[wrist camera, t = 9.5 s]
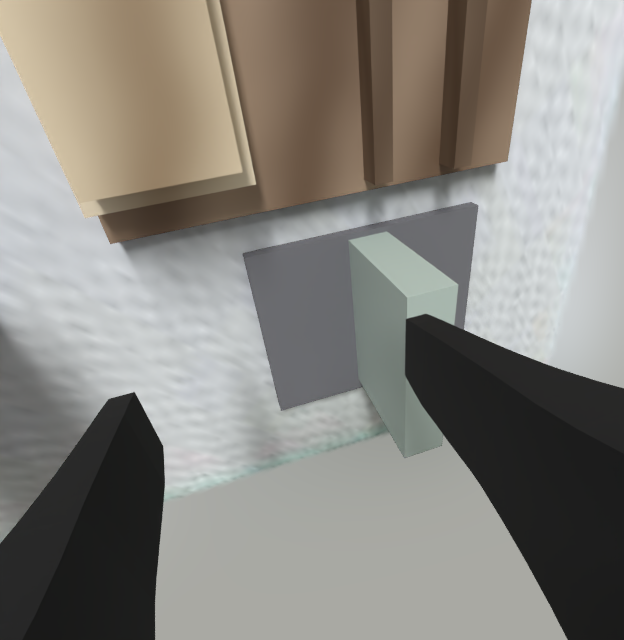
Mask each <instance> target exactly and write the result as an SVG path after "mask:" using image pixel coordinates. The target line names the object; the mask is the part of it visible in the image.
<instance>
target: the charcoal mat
mask: <svg viewBox="0 0 624 640" xmlns="http://www.w3.org/2000/svg"><path fill="white" fill-rule="evenodd" d="M477 212H478V205H476V204H474V203H472V202H470V203H465V204H461V205H457V206H452V207H448V208H443V209H439V210H434V211H430V212H425V213H421V214H416V215H412V216H407V217H403V218H399V219H394V220H390V221H385V222H381V223H376V224H372V225H367V226H363V227H358V228H354V229H349V230H345V231H340V232H336V233H332V234H327V235H323V236H318V237H314V238H309V239H305V240H300V241H296V242H291V243H287V244H282V245H278V246H273V247H269V248H265V249H260V250H256V251H251V252H247V253H243V257H244V261H245V265H246V269H247V273H248V277H249V281H250V285H251V290H252V294H253V298H254V302H255V306H256V310H257V314H258V318H259V323H260V327H261V331H262V335H263V339H264V343H265V347H266V351H267V356H268V360H269V364H270V368H271V372H272V376H273V380H274V384H275V389H276V393H277V397H278V401H279V405H280V408H281V411H282V410H285V409H289V408H292V407H295V406H299V405H302V404H306V403H309V402H312V401H316V400H319V399H323V398H326V397H329V396H333V395H336V394H340V393H343V392H346V391H350V390H353V389H357V388H360V387H363V386H362V384H361V382H360V380H359V376H358V363H357V349H356V336H355V322H354V308H353V295H352V281H351V268H350V254H349V241H348V240H352V239H356V238H360V237H365V236H369V235H374V234H378V233H382V232H388V233H390V234H391V235H393V236H394V237H395V238H397V239H398V240H399V241H401V242H402V243H403V244H405V245H406V246H407V247H409V248H410V249H411V250H413V251H414V252H415V253H417V254H418V255H419V256H421V257H422V258H423V259H425V260H426V261H427V262H429V263H430V264H432V265H433V266H434V267H436V268H437V269H438V270H440V271H441V272H442V273H444V274H445V275H446V276H448V277H449V278H450V279H452V280H453V281H454V282H456V283H457V284H458V294H457V303H456V313H455V323H454V326H456V327H458V328H461V329H463V330H464V322H465V314H466V305H467V297H468V288H469V280H470V271H471V263H472V254H473V246H474V238H475V229H476V221H477Z"/></svg>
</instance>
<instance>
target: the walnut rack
mask: <svg viewBox="0 0 624 640" xmlns="http://www.w3.org/2000/svg"><path fill="white" fill-rule="evenodd" d="M219 1H220V6H221V11H222V16H223V21H224V26H225V31H226V36H227V41H228V46H229V51H230V56H231V61H232V66H233V71H234V76H235V81H236V86H237V91H238V96H239V101H240V106H241V111H242V116H243V121H244V126H245V131H246V136H247V141H248V146H249V151H250V156H251V161H252V166H253V171H254V176H255V181H256V185H251V186H246V187H241V188H236V189H231V190H226V191H221V192H216V193H211V194H205V195H200V196H195V197H190V198H185V199H180V200H175V201H170V202H165V203H160V204H154V205H149V206H144V207H139V208H134V209H129V210H124V211H119V212H114V213H109V214H104V215H98V217H99V219H100V222H101V224H102V226H103V228H104V231H105V233H106V235H107V237H108V240H109V242H110V244H113V243H117V242H122V241H127V240H132V239H137V238H141V237H146V236H151V235H156V234H161V233H165V232H170V231H175V230H180V229H184V228H189V227H194V226H199V225H204V224H208V223H213V222H218V221H223V220H228V219H232V218H237V217H242V216H247V215H252V214H256V213H261V212H266V211H271V210H276V209H280V208H285V207H290V206H295V205H300V204H304V203H309V202H314V201H319V200H324V199H328V198H333V197H338V196H343V195H348V194H352V193H357V192H362V191H367V190H372V189H376V188H381V187H386V186H391V185H396V184H400V183H405V182H410V181H415V180H420V179H424V178H429V177H434V176H439V175H444V174H448V173H453V172H458V171H463V170H467V169H472V168H477V167H482V166H487V165H491V164H496V163H501V162H506V161H508V154H509V147H510V141H511V134H512V127H513V121H514V114H515V108H516V101H517V94H518V88H519V81H520V74H521V68H522V61H523V54H524V48H525V41H526V35H527V28H528V21H529V15H530V8H531V1H532V0H219Z"/></svg>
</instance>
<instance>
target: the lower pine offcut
mask: <svg viewBox="0 0 624 640" xmlns="http://www.w3.org/2000/svg"><path fill="white" fill-rule="evenodd" d="M206 4H207V8H208V13H209V17H210V22H211V27H212V31H213V36H214V41H215V45H216V50H217V55H218V59H219V64H220V69H221V73H222V78H223V83H224V87H225V92H226V97H227V101H228V106H229V110H230V115H231V120H232V124H233V129H234V134H235V138H236V143H237V148H238V152H239V157H240V162H241V166H242V171H243V172H242V173H236V174H231V175H226V176H221V177H215V178H210V179H205V180H199V181H194V182H189V183H184V184H178V185H173V186H168V187H163V188H157V189H152V190H147V191H142V192H136V193H131V194H126V195H121V196H115V197H110V198H105V199H100V200H94V201H89V202H84V203H79V201H78V199H77V197H76V195H75V192H74V190H73V188H72V186H71V184H70V182H69V179H68V177H67V175H66V173H65V171H64V169H63V167H62V164H61V162H60V160H59V158H58V156H57V154H56V151H55V149H54V147H53V145H52V143H51V141H50V138H49V136H48V134H47V132H46V130H45V128H44V125H43V123H42V121H41V119H40V117H39V115H38V112H37V110H36V108H35V106H34V104H33V102H32V99H31V97H30V95H29V93H28V91H27V89H26V86H25V84H24V82H23V80H22V78H21V76H20V73H19V71H18V69H17V67H16V65H15V63H14V60H13V58H12V56H11V54H10V52H9V50H8V48H7V45H6V43H5V41H4V39H3V37H2V35H1V32H0V36H1V38H2V40H3V42H4V45H5V47H6V49H7V51H8V53H9V55H10V57H11V60H12V62H13V64H14V66H15V68H16V70H17V73H18V75H19V77H20V79H21V81H22V83H23V86H24V88H25V90H26V92H27V94H28V96H29V98H30V101H31V103H32V105H33V107H34V109H35V111H36V114H37V116H38V118H39V120H40V122H41V124H42V126H43V129H44V131H45V133H46V135H47V137H48V139H49V142H50V144H51V146H52V148H53V150H54V152H55V154H56V157H57V159H58V161H59V163H60V165H61V167H62V170H63V172H64V174H65V176H66V178H67V180H68V182H69V185H70V187H71V189H72V191H73V193H74V195H75V198H76V200H77V202H78V204H79V206H80V208H81V210H82V213H83V215H84V217H85V218H88V217H93V216H98V215H104V214H109V213H114V212H119V211H124V210H129V209H134V208H139V207H144V206H149V205H154V204H160V203H165V202H170V201H175V200H180V199H185V198H190V197H195V196H200V195H205V194H211V193H216V192H221V191H226V190H231V189H236V188H241V187H246V186H251V185H256V181H255V176H254V171H253V166H252V161H251V156H250V151H249V146H248V141H247V136H246V131H245V126H244V121H243V116H242V111H241V106H240V101H239V96H238V91H237V86H236V81H235V76H234V71H233V66H232V61H231V56H230V51H229V46H228V41H227V36H226V31H225V26H224V21H223V16H222V11H221V6H220V1H219V0H206Z"/></svg>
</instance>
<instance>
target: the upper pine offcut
mask: <svg viewBox="0 0 624 640" xmlns="http://www.w3.org/2000/svg"><path fill="white" fill-rule="evenodd" d="M0 32H1V35H2V37H3V39H4V41H5V43H6V45H7V48H8V50H9V52H10V54H11V56H12V58H13V60H14V63H15V65H16V67H17V69H18V71H19V73H20V76H21V78H22V80H23V82H24V84H25V86H26V89H27V91H28V93H29V95H30V97H31V99H32V102H33V104H34V106H35V108H36V110H37V112H38V115H39V117H40V119H41V121H42V123H43V125H44V128H45V130H46V132H47V134H48V136H49V138H50V141H51V143H52V145H53V147H54V149H55V151H56V154H57V156H58V158H59V160H60V162H61V164H62V167H63V169H64V171H65V173H66V175H67V177H68V179H69V182H70V184H71V186H72V188H73V190H74V192H75V195H76V197H77V199H78V201H79V203H84V202H89V201H94V200H100V199H105V198H110V197H115V196H121V195H126V194H131V193H136V192H142V191H147V190H152V189H157V188H163V187H168V186H173V185H178V184H184V183H189V182H194V181H199V180H205V179H210V178H215V177H221V176H226V175H231V174H236V173H242V172H243V171H242V166H241V162H240V157H239V152H238V148H237V143H236V138H235V134H234V129H233V124H232V120H231V115H230V110H229V106H228V101H227V97H226V92H225V87H224V83H223V78H222V73H221V69H220V64H219V59H218V55H217V50H216V45H215V41H214V36H213V31H212V27H211V22H210V17H209V13H208V8H207V4H206V0H0Z"/></svg>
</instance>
